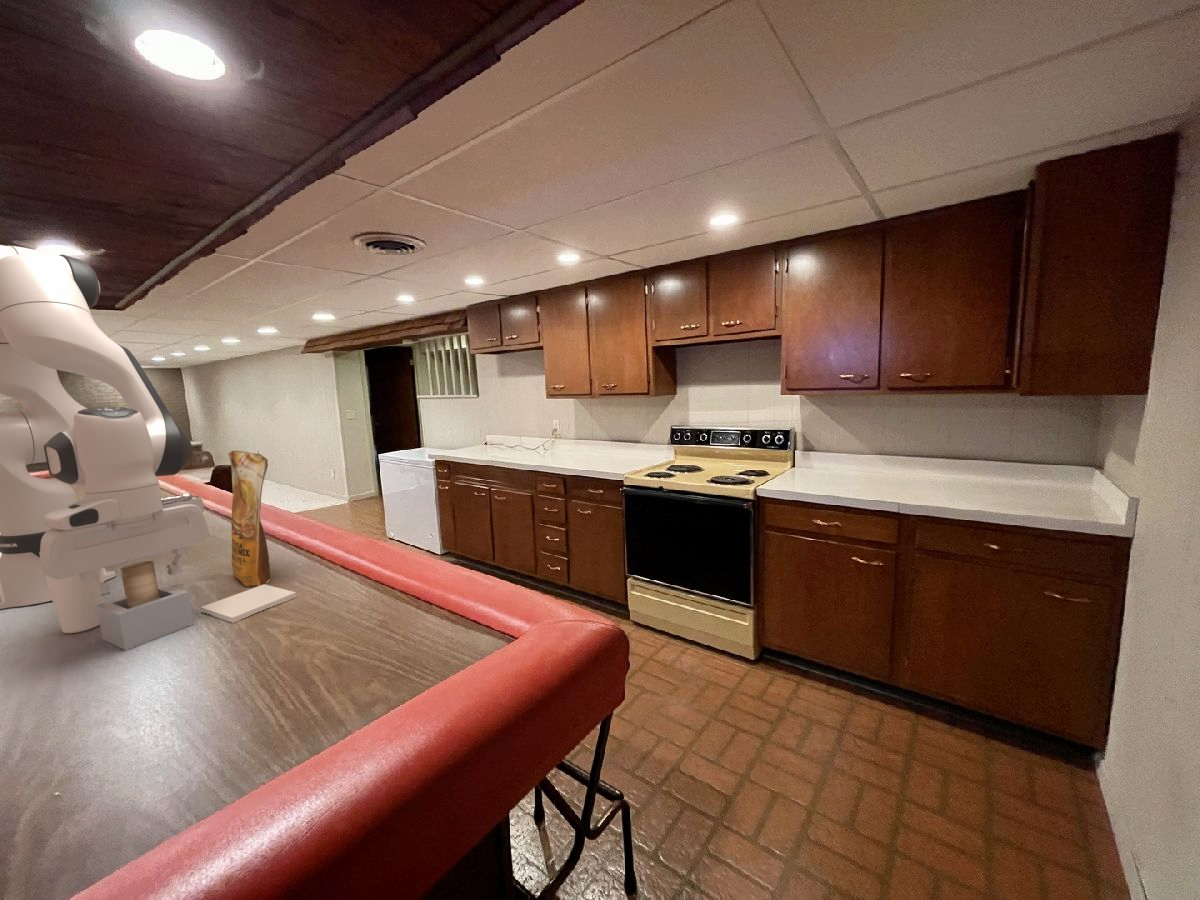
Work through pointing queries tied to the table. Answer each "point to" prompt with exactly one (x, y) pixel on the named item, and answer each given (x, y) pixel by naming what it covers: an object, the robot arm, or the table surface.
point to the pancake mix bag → (248, 519)
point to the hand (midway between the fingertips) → (140, 583)
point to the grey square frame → (145, 618)
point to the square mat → (248, 603)
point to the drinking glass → (74, 602)
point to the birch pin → (140, 583)
